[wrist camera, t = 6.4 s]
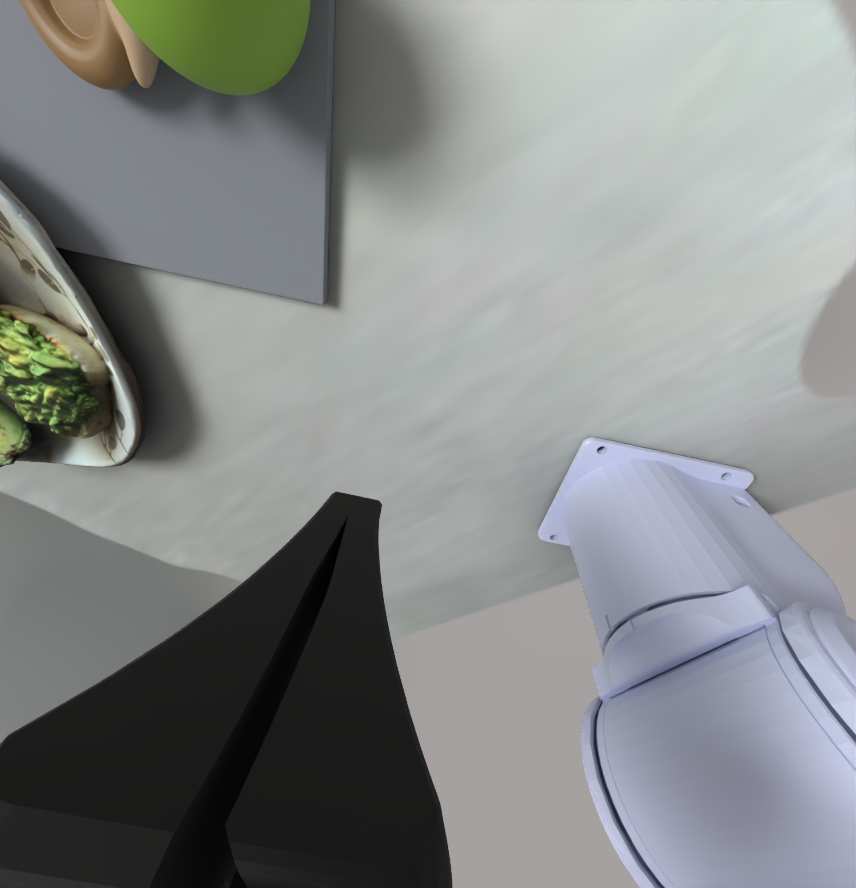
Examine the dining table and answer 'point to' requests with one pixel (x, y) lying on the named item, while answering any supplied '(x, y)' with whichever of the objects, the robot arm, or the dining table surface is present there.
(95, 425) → the salad plate
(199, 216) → the slate mat
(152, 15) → the snail figurine
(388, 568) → the dining table surface
